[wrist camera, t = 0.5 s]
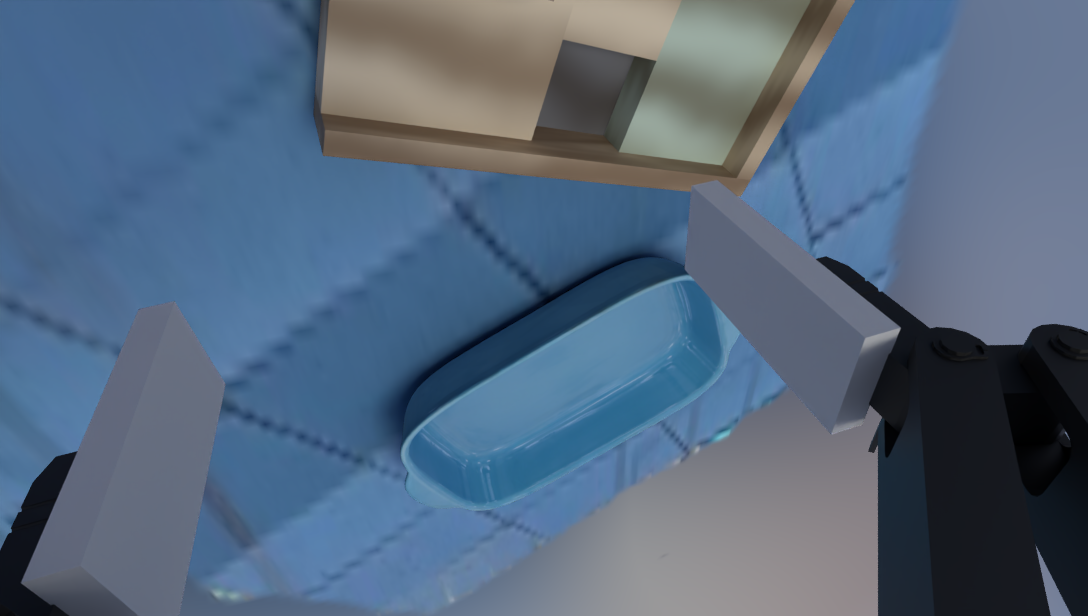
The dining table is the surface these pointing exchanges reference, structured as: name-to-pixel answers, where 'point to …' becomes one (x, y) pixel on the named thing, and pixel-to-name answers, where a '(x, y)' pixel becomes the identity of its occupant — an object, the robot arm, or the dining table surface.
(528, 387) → the casserole dish
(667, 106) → the box
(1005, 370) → the robot arm
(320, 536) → the dining table surface
